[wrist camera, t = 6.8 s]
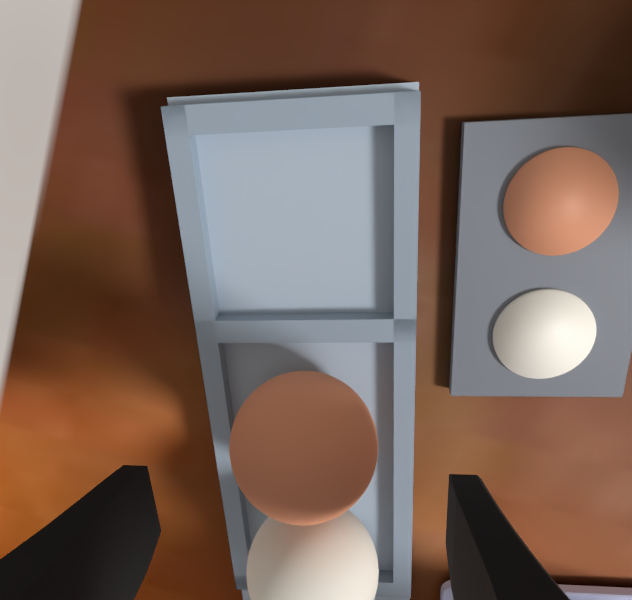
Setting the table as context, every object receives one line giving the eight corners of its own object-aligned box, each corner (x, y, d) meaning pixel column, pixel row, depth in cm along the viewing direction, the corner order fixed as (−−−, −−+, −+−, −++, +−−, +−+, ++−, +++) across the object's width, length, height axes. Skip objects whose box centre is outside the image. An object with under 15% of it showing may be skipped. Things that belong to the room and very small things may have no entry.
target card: (669, 111, 13) (681, 111, 12) (616, 389, 15) (624, 399, 15) (461, 121, 13) (465, 123, 13) (449, 388, 16) (451, 398, 16)
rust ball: (373, 344, 15) (381, 426, 11) (375, 456, 16) (383, 562, 12) (238, 347, 15) (201, 427, 11) (252, 457, 16) (223, 560, 13)
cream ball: (377, 472, 16) (379, 582, 13) (378, 563, 18) (380, 686, 14) (255, 469, 17) (223, 574, 13) (266, 558, 18) (240, 676, 15)
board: (415, 82, 13) (420, 81, 12) (406, 626, 20) (409, 665, 19) (180, 97, 14) (159, 97, 12) (254, 617, 21) (246, 654, 20)
